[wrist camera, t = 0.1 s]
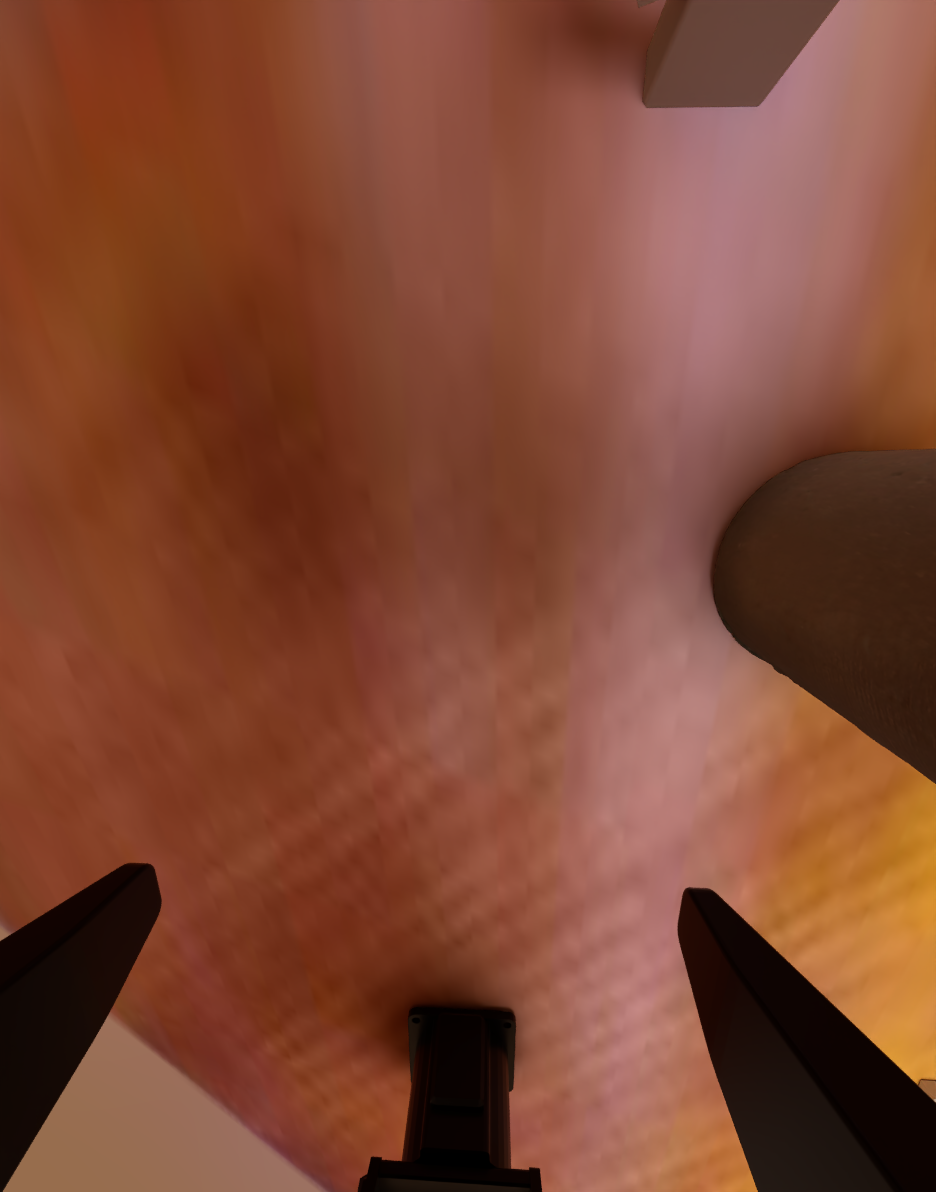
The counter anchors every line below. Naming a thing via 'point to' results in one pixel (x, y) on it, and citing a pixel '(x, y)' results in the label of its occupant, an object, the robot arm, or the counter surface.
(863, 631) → the pillar candle
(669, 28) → the lighter
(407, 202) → the counter surface
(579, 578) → the counter surface
